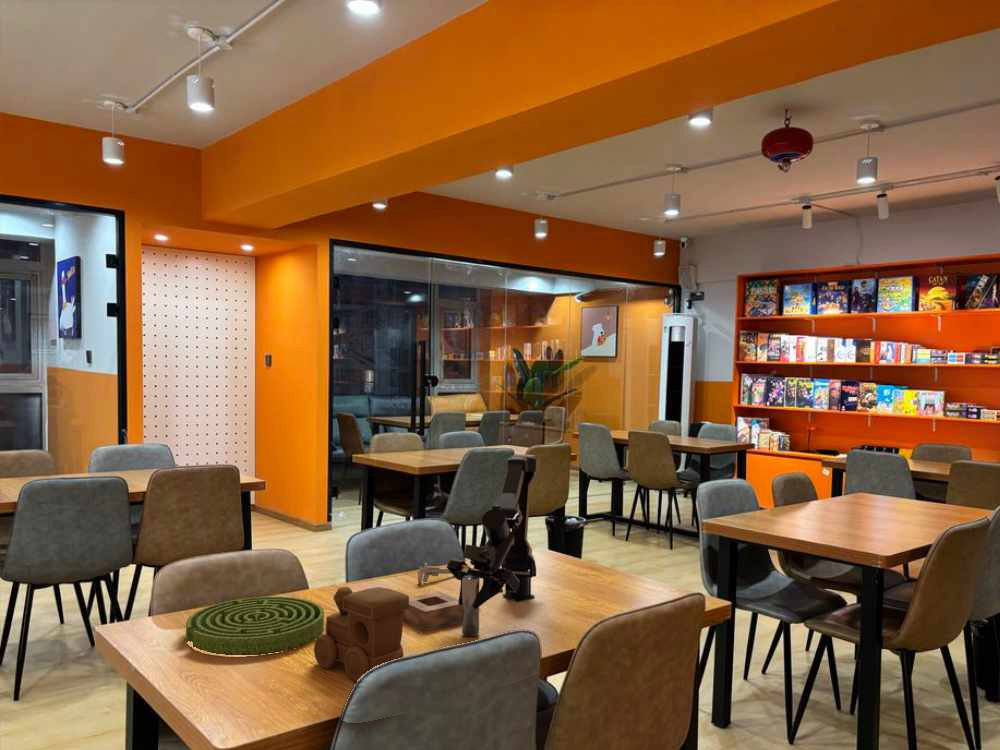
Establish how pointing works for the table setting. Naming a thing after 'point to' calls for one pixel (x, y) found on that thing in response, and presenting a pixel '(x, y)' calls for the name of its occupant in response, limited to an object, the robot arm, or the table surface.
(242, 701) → the table surface
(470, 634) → the steel pin
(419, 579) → the caliper
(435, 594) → the socket block
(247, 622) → the maze
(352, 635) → the wooden toy train
